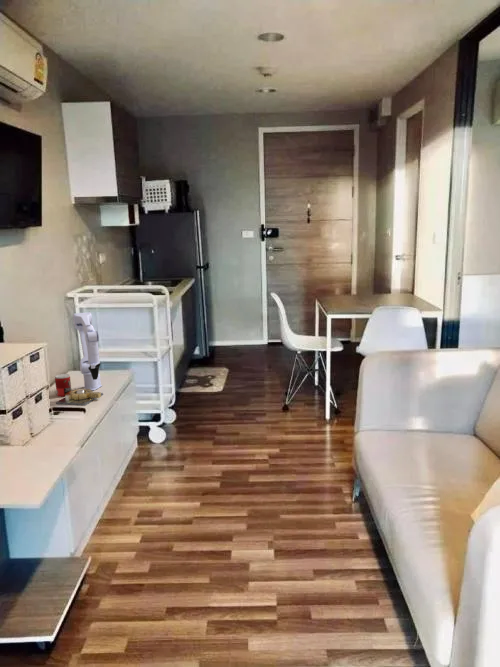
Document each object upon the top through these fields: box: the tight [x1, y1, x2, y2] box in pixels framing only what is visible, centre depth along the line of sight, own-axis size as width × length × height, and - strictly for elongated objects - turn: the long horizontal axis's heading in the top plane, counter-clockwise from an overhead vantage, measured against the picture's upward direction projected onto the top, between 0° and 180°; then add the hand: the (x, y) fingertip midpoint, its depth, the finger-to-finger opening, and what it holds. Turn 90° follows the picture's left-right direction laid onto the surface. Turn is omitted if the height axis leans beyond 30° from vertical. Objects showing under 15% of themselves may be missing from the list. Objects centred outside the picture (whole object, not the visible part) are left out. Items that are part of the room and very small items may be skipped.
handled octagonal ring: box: [69, 388, 102, 400], centre depth 270 cm, size 17×11×2 cm, turn 75°
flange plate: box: [55, 389, 104, 406], centre depth 270 cm, size 18×17×4 cm
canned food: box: [54, 373, 72, 398], centre depth 278 cm, size 8×8×11 cm
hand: (95, 378), depth 274 cm, fingers open, 4 cm apart
